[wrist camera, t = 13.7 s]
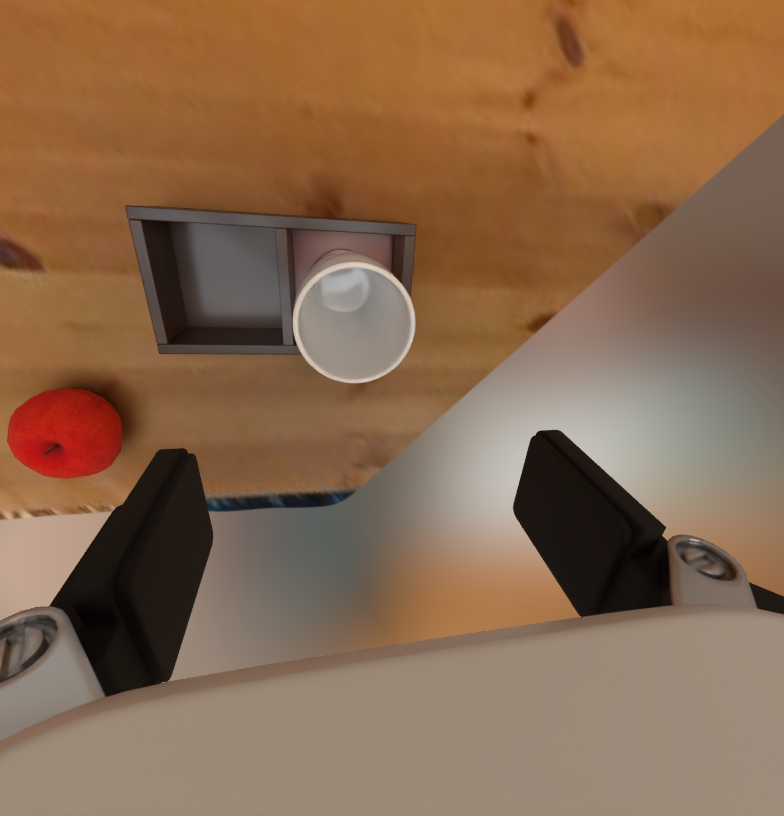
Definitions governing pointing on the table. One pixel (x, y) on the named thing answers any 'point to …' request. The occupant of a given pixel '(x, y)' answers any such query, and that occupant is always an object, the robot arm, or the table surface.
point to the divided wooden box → (244, 272)
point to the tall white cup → (352, 318)
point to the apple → (65, 433)
